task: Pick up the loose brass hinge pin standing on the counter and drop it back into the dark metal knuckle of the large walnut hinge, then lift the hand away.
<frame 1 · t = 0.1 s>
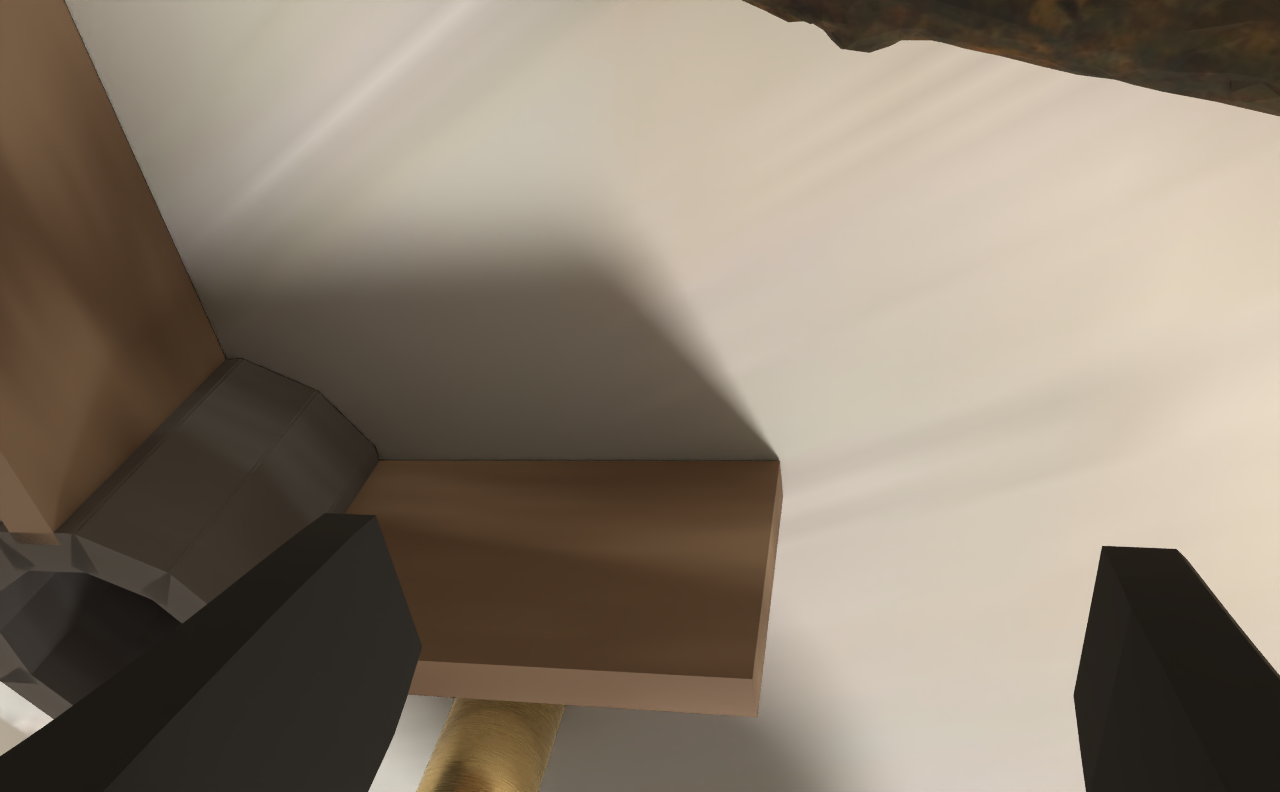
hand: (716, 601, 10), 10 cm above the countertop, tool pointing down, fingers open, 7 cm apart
pin: (514, 692, 28), on the countertop
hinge: (261, 475, 25), on the countertop
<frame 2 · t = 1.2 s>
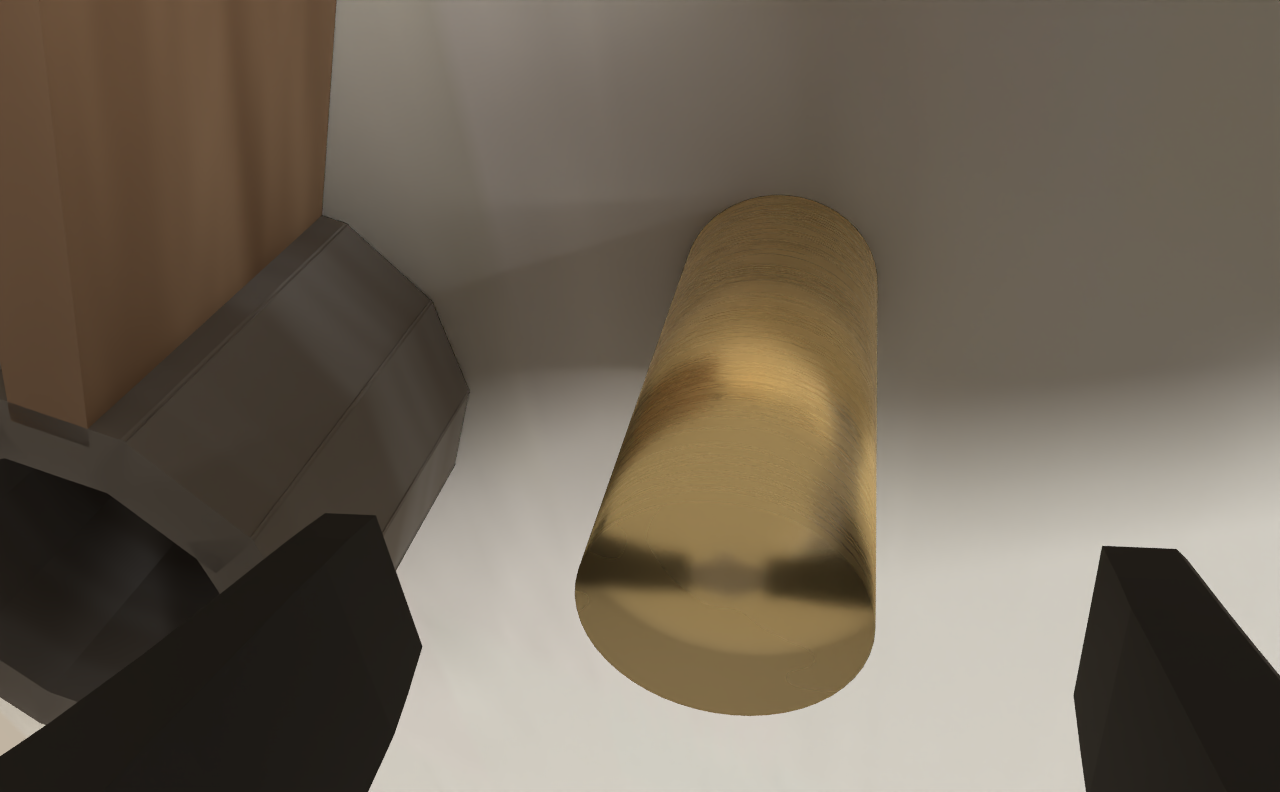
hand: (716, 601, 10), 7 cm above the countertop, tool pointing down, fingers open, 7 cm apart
pin: (779, 284, 15), on the countertop
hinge: (285, 368, 18), on the countertop
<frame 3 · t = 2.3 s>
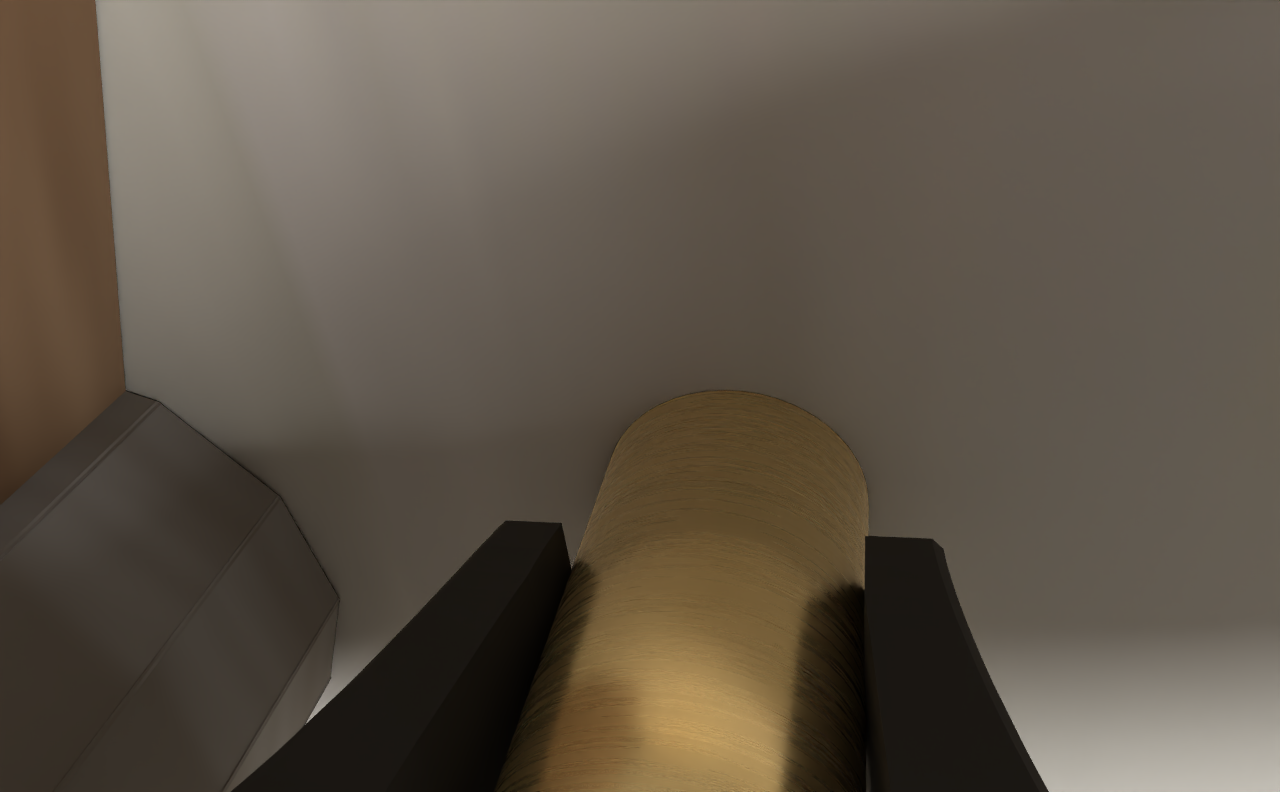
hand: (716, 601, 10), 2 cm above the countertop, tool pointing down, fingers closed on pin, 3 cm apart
pin: (734, 498, 11), on the countertop, touching gripper
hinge: (107, 563, 14), on the countertop
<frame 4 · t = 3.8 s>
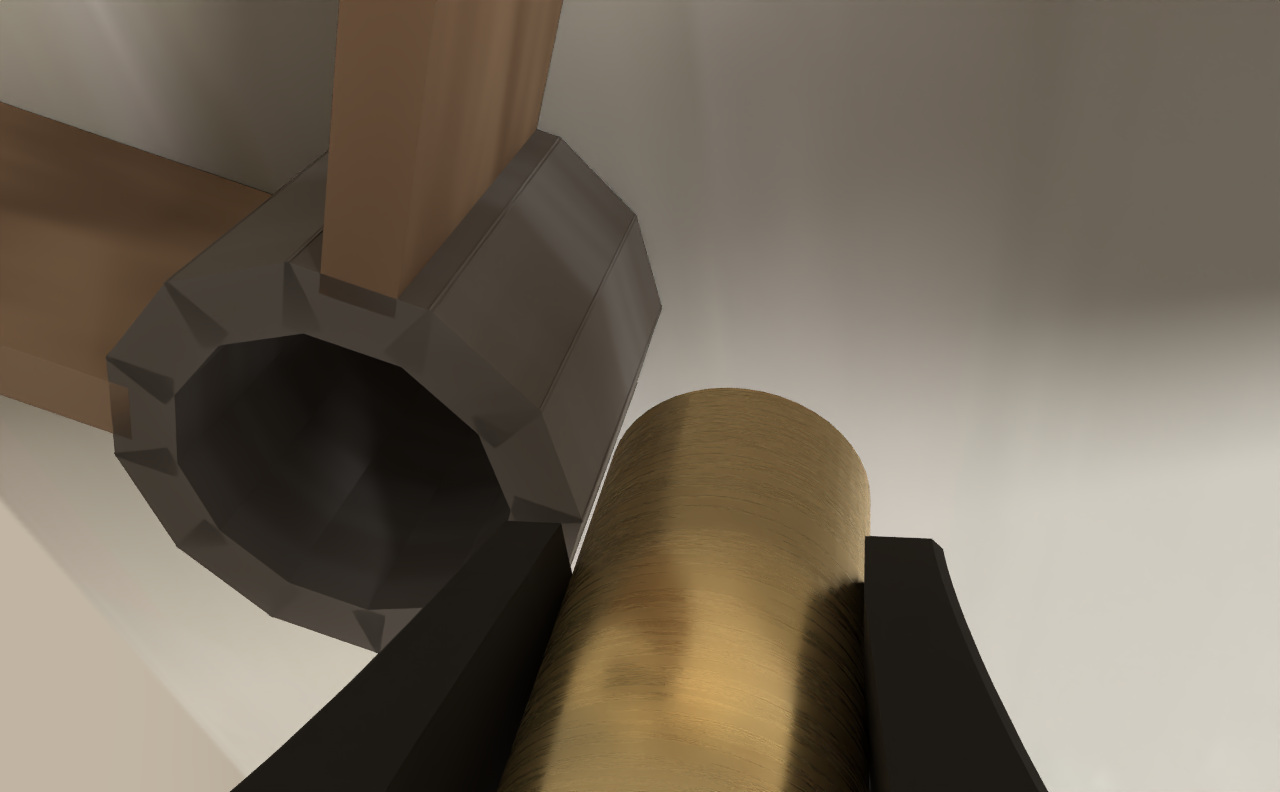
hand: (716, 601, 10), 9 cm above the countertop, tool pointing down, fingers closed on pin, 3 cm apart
pin: (737, 495, 11), point 7 cm above the countertop, touching gripper
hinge: (477, 287, 19), on the countertop
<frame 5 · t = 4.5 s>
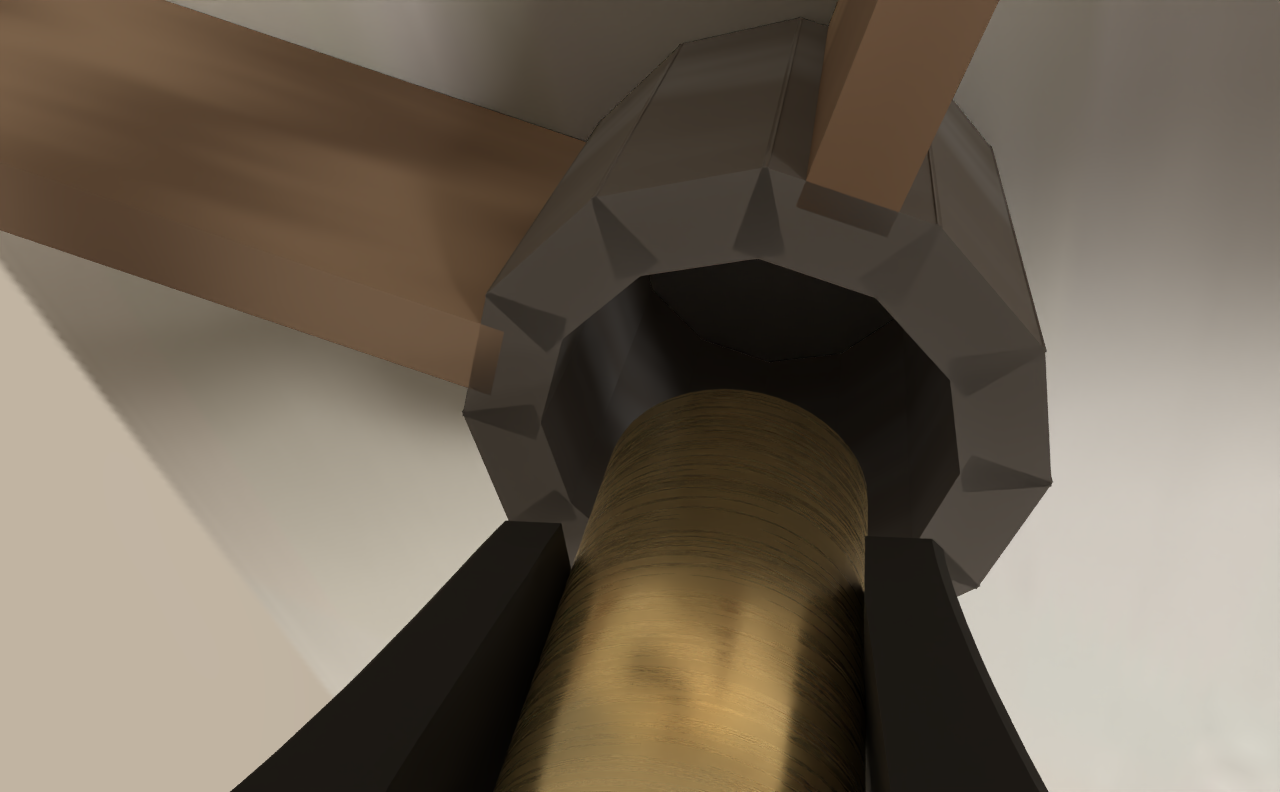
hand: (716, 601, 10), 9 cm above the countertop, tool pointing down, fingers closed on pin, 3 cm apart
pin: (734, 496, 11), point 7 cm above the countertop, touching gripper
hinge: (780, 236, 17), on the countertop
when the fingers open (9 cm above the countertop, at t = 5.2 s): pin drops 7 cm, resting in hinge.
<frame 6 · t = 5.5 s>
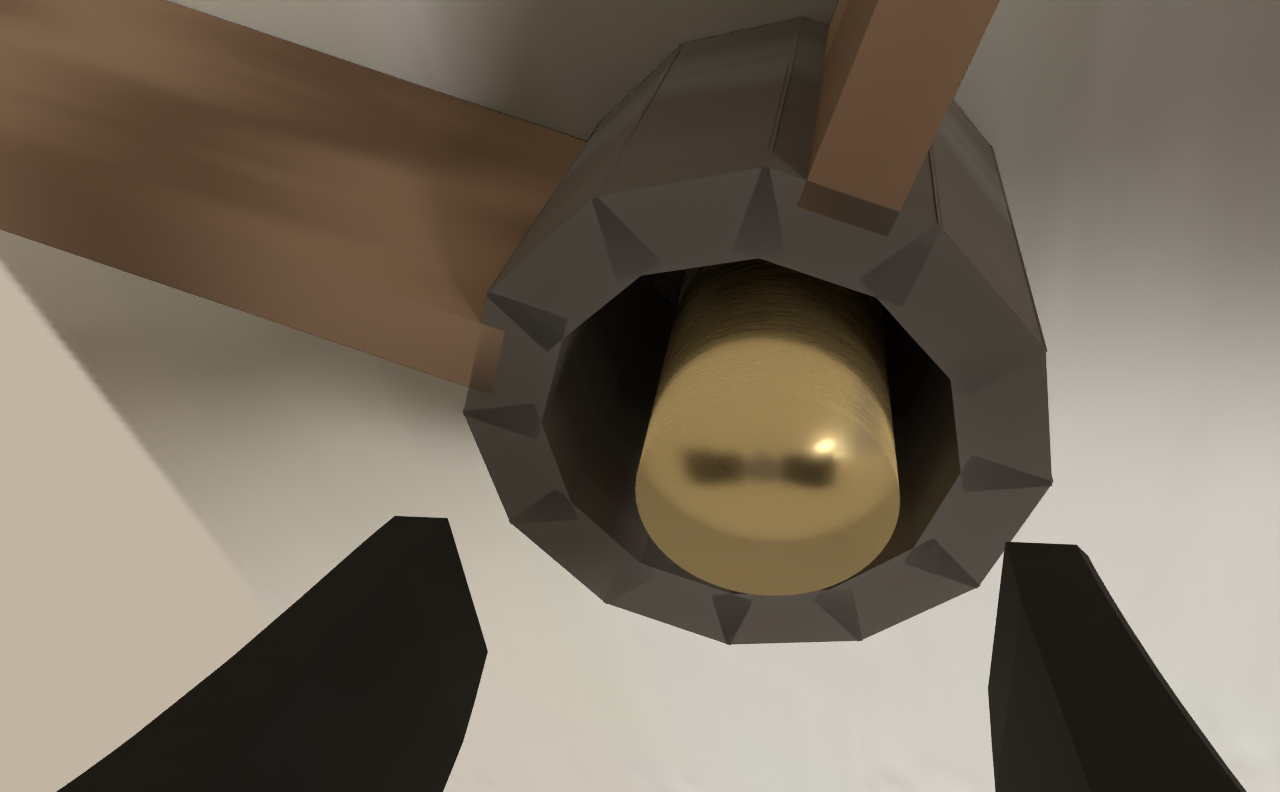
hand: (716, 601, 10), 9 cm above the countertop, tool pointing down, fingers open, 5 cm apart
pin: (783, 236, 17), resting in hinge
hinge: (781, 235, 17), on the countertop
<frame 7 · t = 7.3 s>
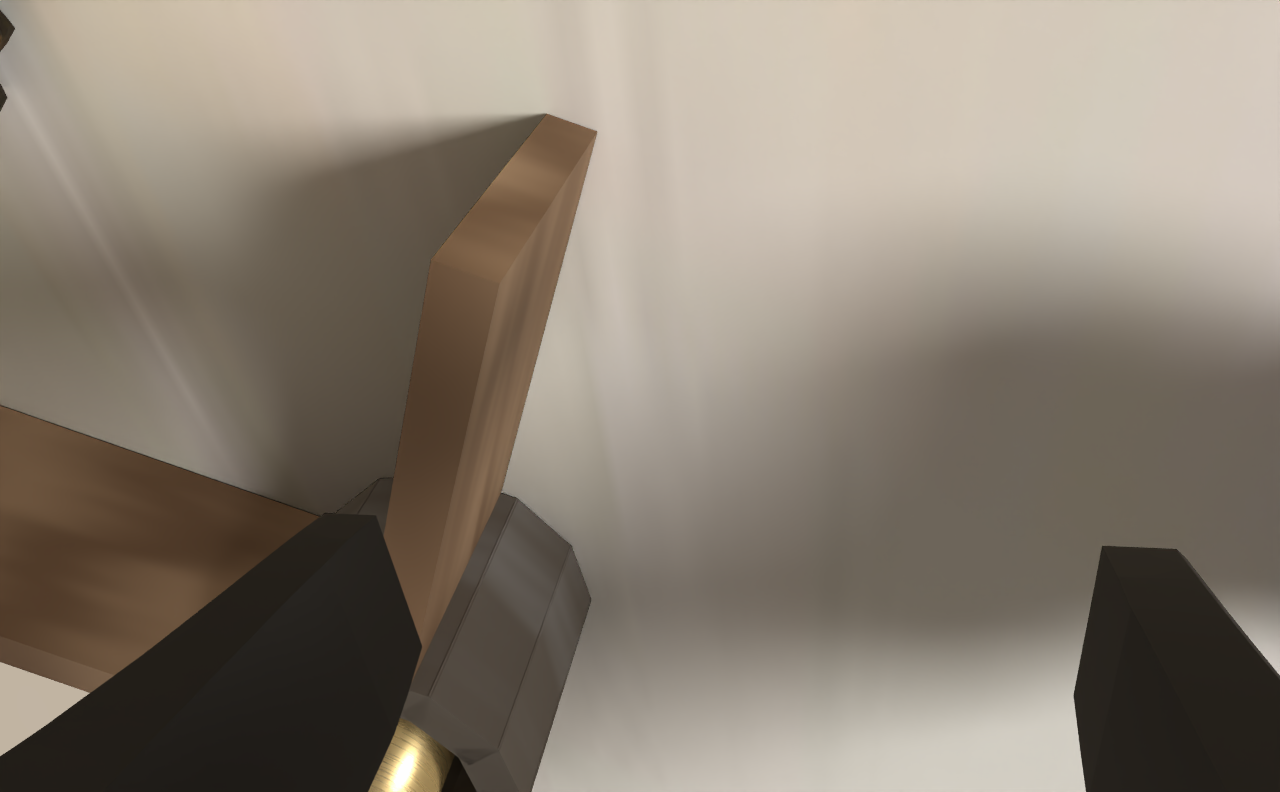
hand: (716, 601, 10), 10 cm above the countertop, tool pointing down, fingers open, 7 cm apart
pin: (459, 578, 26), resting in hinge
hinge: (458, 578, 26), on the countertop
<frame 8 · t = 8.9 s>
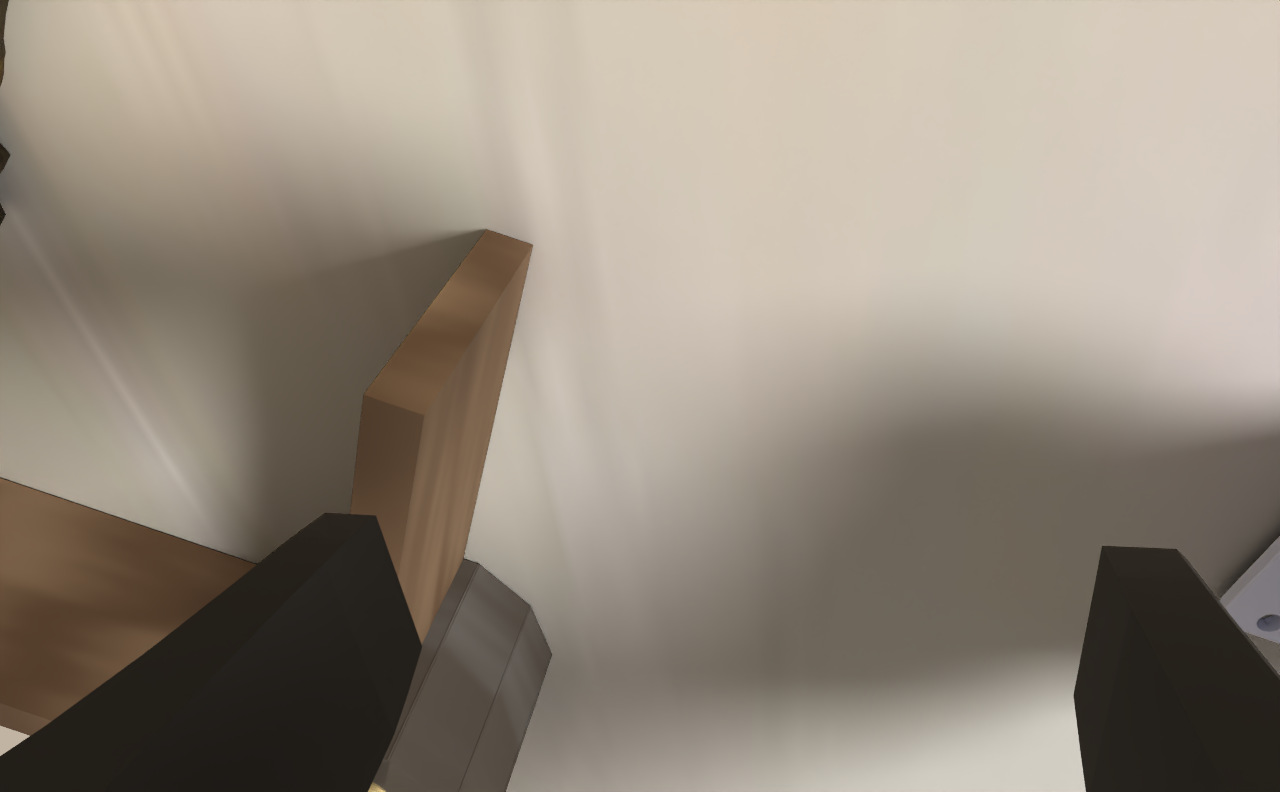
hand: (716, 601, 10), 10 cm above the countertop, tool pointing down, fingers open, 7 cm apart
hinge: (428, 634, 28), on the countertop
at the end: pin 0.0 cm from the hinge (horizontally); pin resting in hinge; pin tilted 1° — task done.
